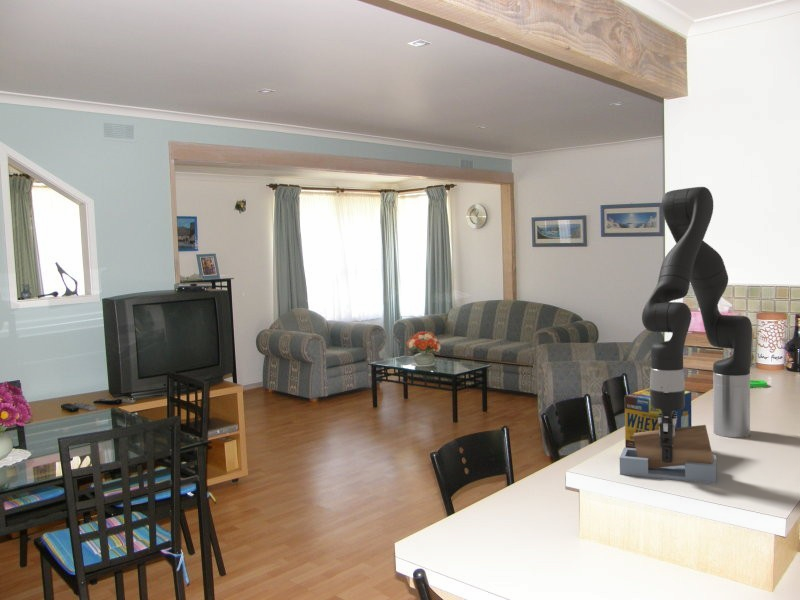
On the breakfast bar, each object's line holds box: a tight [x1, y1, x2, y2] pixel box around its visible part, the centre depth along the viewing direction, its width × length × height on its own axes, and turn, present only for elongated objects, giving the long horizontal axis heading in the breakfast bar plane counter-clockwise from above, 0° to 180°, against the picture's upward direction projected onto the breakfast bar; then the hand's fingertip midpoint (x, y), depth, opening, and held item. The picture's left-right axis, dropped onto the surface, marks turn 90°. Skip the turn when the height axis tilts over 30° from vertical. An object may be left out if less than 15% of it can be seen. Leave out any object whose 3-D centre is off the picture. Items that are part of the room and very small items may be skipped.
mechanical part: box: [750, 379, 768, 388], centre depth 247 cm, size 12×6×8 cm, turn 82°
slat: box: [633, 424, 714, 468], centre depth 158 cm, size 3×16×8 cm, turn 63°
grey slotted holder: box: [619, 447, 717, 484], centre depth 159 cm, size 8×21×4 cm, turn 65°
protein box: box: [624, 387, 692, 448], centre depth 175 cm, size 10×15×16 cm
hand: (668, 458), depth 159 cm, fingers open, 4 cm apart
